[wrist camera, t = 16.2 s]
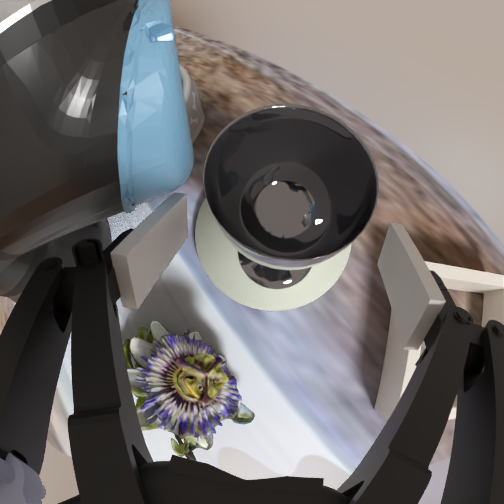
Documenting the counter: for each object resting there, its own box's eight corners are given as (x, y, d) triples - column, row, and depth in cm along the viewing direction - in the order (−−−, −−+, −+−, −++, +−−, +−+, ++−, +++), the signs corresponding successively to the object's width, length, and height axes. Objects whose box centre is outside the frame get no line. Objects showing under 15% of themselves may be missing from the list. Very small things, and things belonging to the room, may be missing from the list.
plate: (184, 296, 28) (181, 295, 26) (214, 158, 31) (212, 153, 30) (339, 320, 26) (343, 320, 25) (351, 177, 30) (354, 172, 28)
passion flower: (224, 355, 31) (288, 405, 21) (162, 421, 28) (202, 493, 18) (151, 288, 27) (189, 323, 17) (82, 364, 24) (83, 438, 13)
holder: (374, 409, 24) (393, 424, 19) (394, 269, 27) (417, 259, 22) (474, 402, 23) (499, 410, 18) (490, 284, 26) (516, 277, 21)
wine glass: (325, 219, 28) (380, 124, 13) (310, 301, 26) (370, 278, 11) (244, 202, 28) (228, 93, 14) (224, 283, 26) (179, 237, 12)
